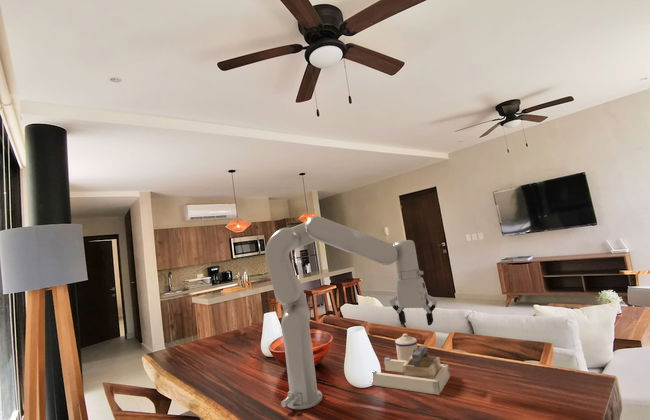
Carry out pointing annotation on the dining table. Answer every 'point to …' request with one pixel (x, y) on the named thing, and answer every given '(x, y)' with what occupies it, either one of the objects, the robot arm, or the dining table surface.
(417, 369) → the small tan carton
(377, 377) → the bay
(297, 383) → the robot arm
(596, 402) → the dining table surface
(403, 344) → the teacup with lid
